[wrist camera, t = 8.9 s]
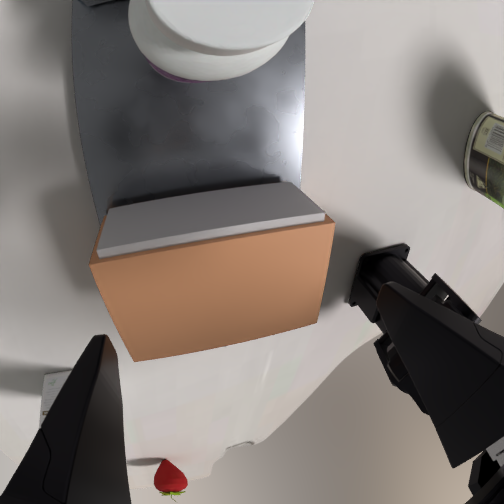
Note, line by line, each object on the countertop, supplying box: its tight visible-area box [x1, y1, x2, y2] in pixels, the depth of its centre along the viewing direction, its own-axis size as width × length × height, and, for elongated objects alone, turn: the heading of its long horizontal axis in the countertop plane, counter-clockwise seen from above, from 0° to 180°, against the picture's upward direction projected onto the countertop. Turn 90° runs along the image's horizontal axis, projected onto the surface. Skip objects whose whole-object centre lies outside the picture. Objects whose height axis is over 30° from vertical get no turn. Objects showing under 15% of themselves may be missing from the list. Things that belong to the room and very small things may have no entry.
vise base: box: [72, 0, 305, 225], centre depth 13 cm, size 24×13×6 cm, turn 1°
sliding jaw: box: [89, 182, 335, 362], centre depth 17 cm, size 8×12×5 cm, turn 91°
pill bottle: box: [128, 0, 314, 83], centre depth 8 cm, size 5×5×10 cm
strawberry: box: [154, 460, 188, 498], centre depth 40 cm, size 6×8×10 cm
